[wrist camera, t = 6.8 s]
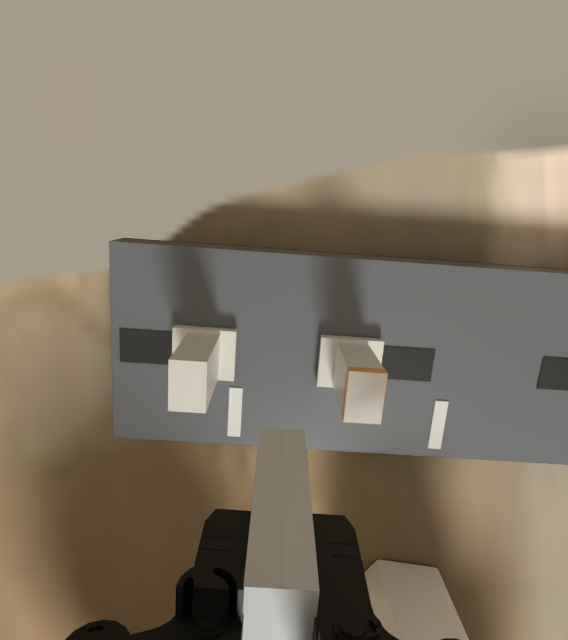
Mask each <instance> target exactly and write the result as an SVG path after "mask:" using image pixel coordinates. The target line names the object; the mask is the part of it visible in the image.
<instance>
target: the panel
mask: <svg viewBox="0 0 568 640" xmlns="http://www.w3.org/2000/svg"><path fill="white" fill-rule="evenodd" d="M109 248H110V298H111V347H112V395H113V437H115V438H132V439H148V440H165V441H181V442H198V443H215V444H231V445H248V446H258V443H259V433H260V427H263V428H278V429H294V430H305V439H306V449H314V450H331V451H347V452H364V453H381V454H397V455H414V456H430V457H447V458H463V459H480V460H497V461H513V462H530V463H546V464H563V465H568V270H564V269H550V268H536V267H522V266H508V265H494V264H480V263H466V262H452V261H438V260H425V259H411V258H397V257H383V256H369V255H355V254H341V253H327V252H313V251H299V250H285V249H272V248H258V247H244V246H230V245H216V244H202V243H188V242H174V241H160V240H146V239H132V238H122V239H117V240H112V241H109ZM174 325H185V326H200V327H215V328H230V329H237V344H236V364H235V379H234V381H220V380H217V383H216V386H215V388H214V391H213V394H212V397H211V400H210V403H209V405H208V408H207V411H206V413H191V412H175V411H168V360H169V358H170V357H171V355H172V327H173V326H174ZM321 335H335V336H350V337H364V338H379V339H383V340H384V349H383V356H382V364H381V365H382V366H383V368H384V369H385V370H386V371H387V373H388V376H387V384H386V391H385V398H384V406H383V413H382V421H381V425H378V424H362V423H346V422H343V420H342V415H341V411H340V408H339V405H338V401H337V398H336V394H335V391H334V388H330V387H317V385H316V379H317V368H318V358H319V347H320V337H321Z"/></svg>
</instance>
